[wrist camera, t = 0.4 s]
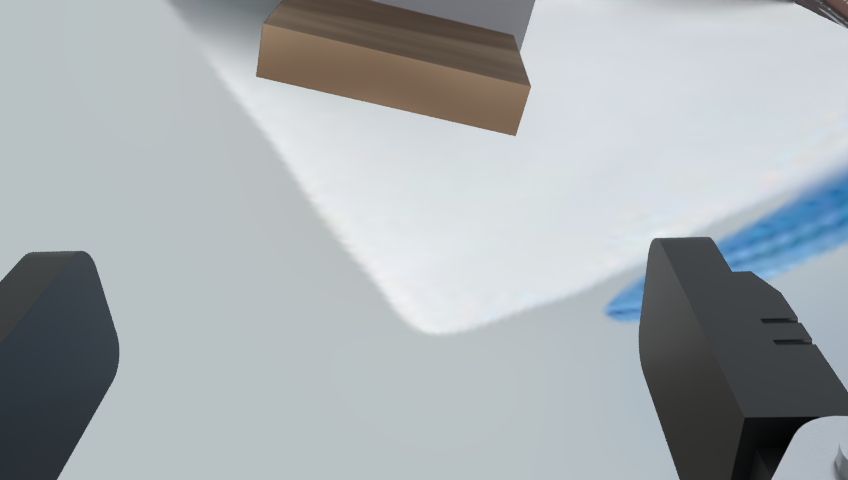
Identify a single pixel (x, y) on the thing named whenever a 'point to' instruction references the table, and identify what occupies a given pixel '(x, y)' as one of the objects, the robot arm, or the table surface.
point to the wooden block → (397, 60)
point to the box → (828, 9)
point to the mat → (477, 13)
